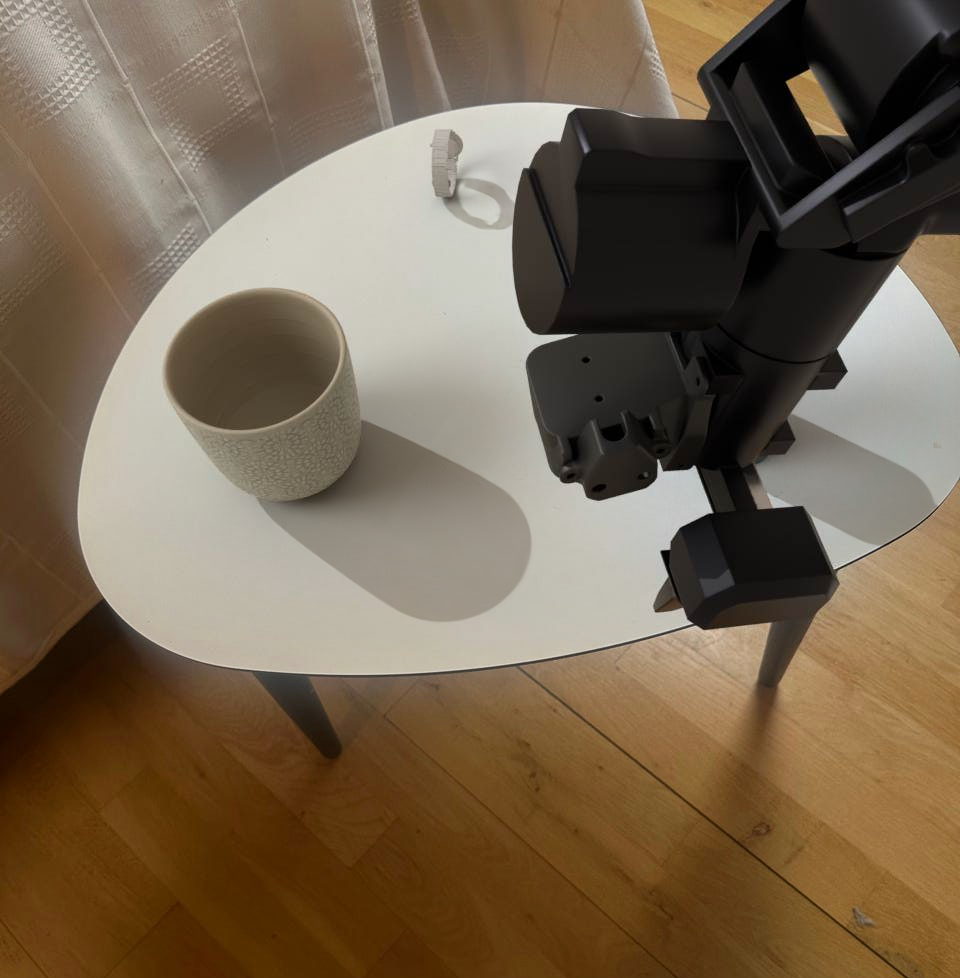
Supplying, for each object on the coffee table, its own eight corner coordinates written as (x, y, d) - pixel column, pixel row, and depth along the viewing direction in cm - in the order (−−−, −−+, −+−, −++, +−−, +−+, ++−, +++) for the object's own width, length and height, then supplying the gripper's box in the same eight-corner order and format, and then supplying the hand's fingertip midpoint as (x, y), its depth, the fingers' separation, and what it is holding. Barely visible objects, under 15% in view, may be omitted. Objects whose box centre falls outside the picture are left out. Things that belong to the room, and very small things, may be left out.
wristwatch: (465, 169, 81) (460, 117, 76) (459, 209, 79) (453, 158, 74) (434, 168, 81) (427, 116, 76) (426, 208, 79) (419, 157, 74)
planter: (206, 413, 71) (151, 312, 61) (357, 374, 72) (326, 267, 62) (229, 542, 66) (173, 455, 56) (391, 499, 67) (363, 405, 57)
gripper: (516, 138, 36) (456, 403, 50) (649, 528, 28) (534, 715, 42) (763, 146, 39) (641, 395, 52) (944, 504, 31) (746, 686, 45)
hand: (637, 533), depth 48 cm, fingers open, 9 cm apart
